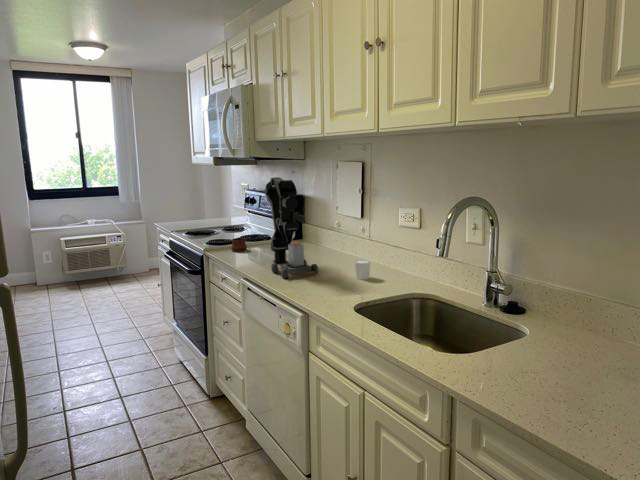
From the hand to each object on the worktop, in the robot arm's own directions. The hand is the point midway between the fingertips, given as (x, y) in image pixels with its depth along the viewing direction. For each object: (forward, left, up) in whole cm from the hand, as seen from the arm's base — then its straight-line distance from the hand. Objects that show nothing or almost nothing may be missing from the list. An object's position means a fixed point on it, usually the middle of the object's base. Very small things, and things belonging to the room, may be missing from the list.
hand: (287, 241), depth 216 cm
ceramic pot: (-52, -15, -14) cm, 56 cm away
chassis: (+9, +1, -13) cm, 16 cm away
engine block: (+11, +1, -12) cm, 16 cm away
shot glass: (+27, +26, -13) cm, 40 cm away
